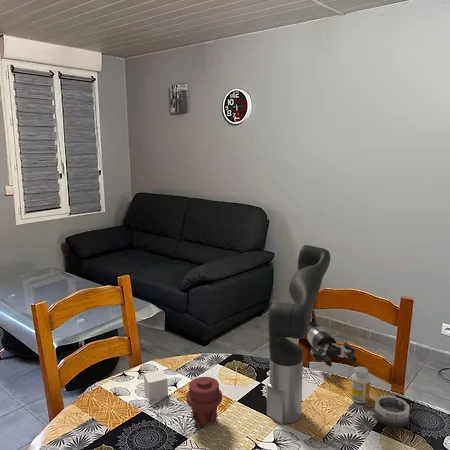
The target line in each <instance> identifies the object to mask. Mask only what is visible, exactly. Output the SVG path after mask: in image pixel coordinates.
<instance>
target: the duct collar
mask: <svg viewBox="0 0 450 450" xmlns="http://www.w3.org/2000/svg"><path fill="white" fill-rule="evenodd" d="M374 401H375V402H374V418H375V419H376V420H377V421H378V423H380V424H382V425H384V426H386V427H390V428H395V429H399V428H404V427H406V426H408V425H409V422H410V409H411V407H410V405H409V403H407V401H406V400H404V399H402V398H400V397H397V396H393V395H389V394H388V395H387V394H386V395H380V396H377V397H376V398H375V399H374Z"/></svg>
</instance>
